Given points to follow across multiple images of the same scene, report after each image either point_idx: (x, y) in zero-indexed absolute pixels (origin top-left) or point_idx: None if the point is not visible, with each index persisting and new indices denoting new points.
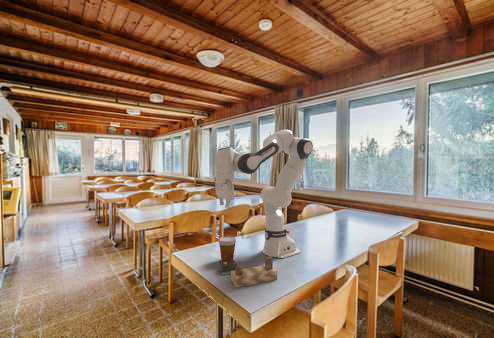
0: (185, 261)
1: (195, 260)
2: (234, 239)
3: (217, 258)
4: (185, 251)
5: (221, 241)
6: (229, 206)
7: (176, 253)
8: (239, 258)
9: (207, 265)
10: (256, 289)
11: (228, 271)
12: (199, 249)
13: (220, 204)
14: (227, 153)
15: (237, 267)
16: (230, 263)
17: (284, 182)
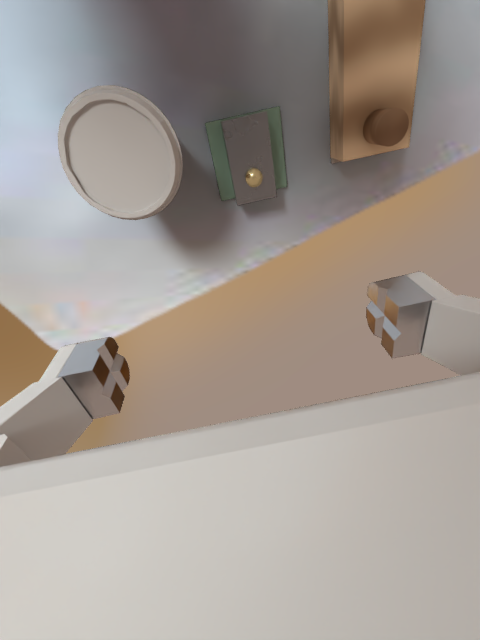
0: (145, 318)
1: (136, 286)
2: (128, 103)
3: None
4: (43, 327)
5: (159, 206)
6: (434, 281)
7: None
8: (110, 62)
9: (187, 242)
10: (439, 52)
11: None
12: (6, 276)
13: (123, 381)
14: None
15: (394, 136)
16: (256, 149)
17: None
